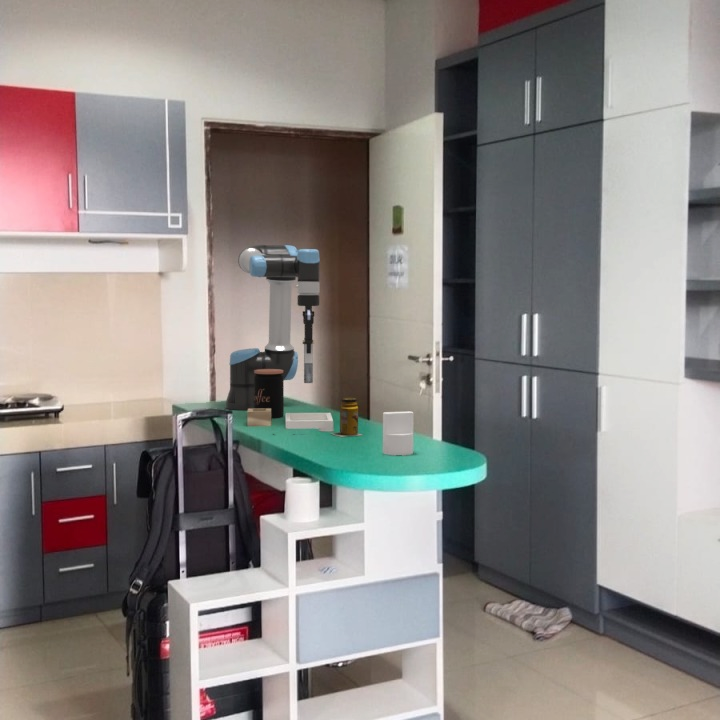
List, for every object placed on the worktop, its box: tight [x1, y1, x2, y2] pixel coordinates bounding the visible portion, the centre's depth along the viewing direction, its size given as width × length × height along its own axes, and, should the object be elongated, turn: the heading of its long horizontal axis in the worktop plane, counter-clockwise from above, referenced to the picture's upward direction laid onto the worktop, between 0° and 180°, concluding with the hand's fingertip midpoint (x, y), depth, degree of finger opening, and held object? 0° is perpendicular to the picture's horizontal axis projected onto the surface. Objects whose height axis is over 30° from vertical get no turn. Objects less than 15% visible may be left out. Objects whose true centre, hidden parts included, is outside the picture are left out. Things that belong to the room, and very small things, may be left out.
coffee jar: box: [254, 369, 285, 420], centre depth 347 cm, size 11×11×18 cm
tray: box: [284, 412, 334, 432], centre depth 330 cm, size 20×16×4 cm
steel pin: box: [302, 339, 315, 384], centre depth 328 cm, size 4×4×15 cm
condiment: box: [330, 397, 363, 438], centre depth 314 cm, size 7×8×12 cm
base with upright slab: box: [382, 410, 414, 456], centre depth 281 cm, size 9×9×12 cm
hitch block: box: [246, 408, 272, 427], centre depth 328 cm, size 8×8×6 cm
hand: (308, 362), depth 328 cm, fingers closed on steel pin, 4 cm apart
